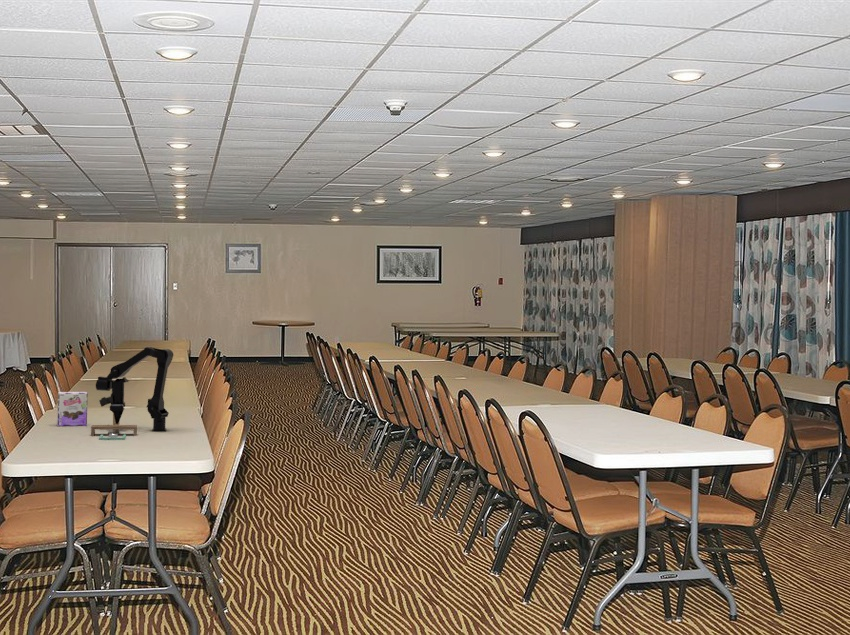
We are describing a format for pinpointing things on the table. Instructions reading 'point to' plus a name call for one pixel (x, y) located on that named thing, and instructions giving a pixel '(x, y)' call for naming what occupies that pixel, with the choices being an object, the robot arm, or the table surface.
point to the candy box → (72, 409)
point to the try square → (114, 429)
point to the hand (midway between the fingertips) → (117, 423)
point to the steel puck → (113, 435)
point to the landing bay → (112, 438)
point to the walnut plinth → (113, 428)
